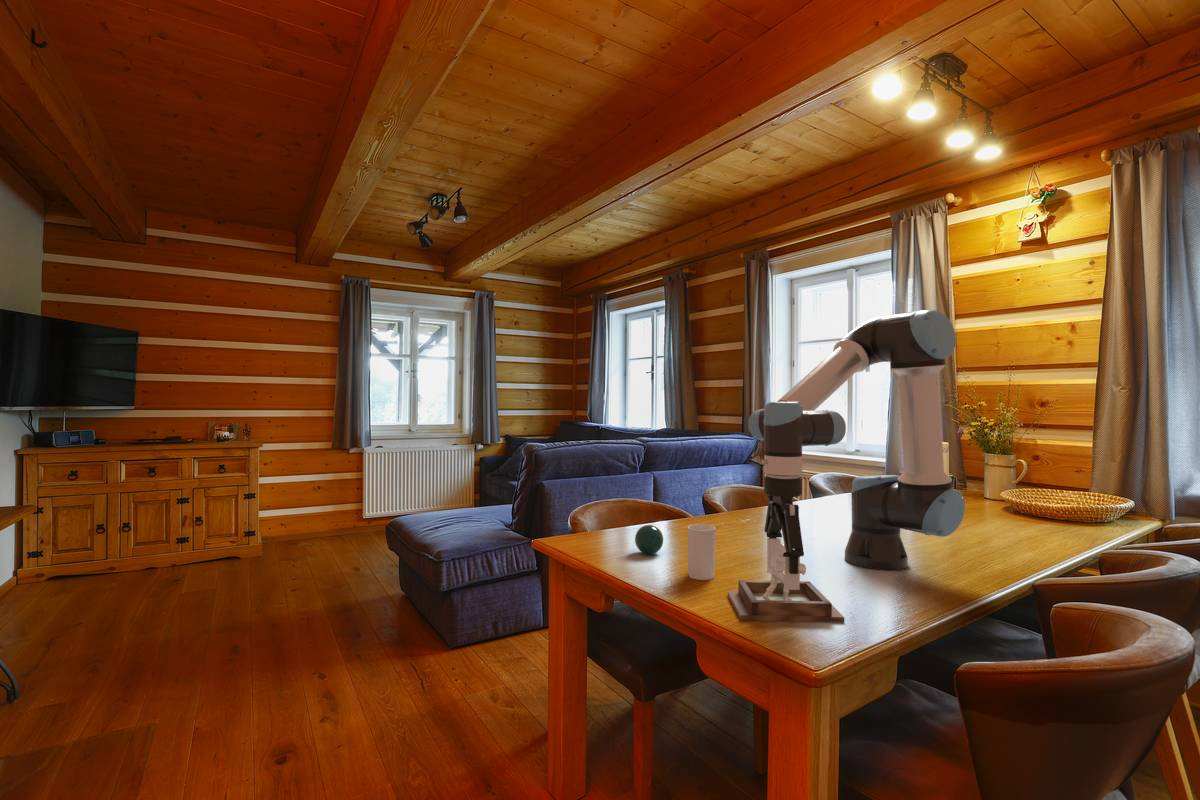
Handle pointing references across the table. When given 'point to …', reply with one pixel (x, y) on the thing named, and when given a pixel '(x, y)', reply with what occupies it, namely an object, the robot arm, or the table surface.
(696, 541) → the mug
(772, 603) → the brown picture frame
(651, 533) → the sphere
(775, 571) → the figurine
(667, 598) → the table surface
